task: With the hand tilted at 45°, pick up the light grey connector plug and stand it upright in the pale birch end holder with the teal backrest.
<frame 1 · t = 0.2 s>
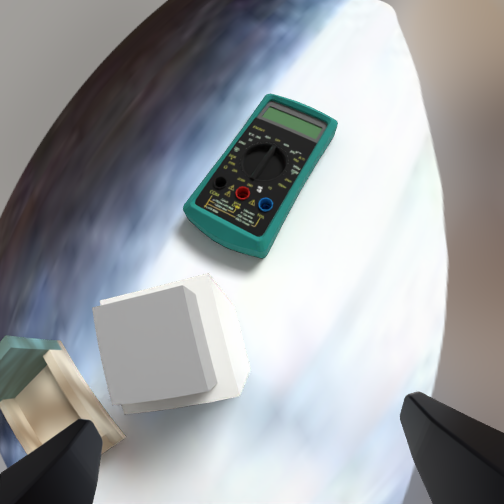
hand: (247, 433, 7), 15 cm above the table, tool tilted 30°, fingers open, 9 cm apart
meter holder: (59, 415, 20), on the table
digital multimeter: (266, 174, 26), on the table
connector plug: (209, 345, 22), on the table
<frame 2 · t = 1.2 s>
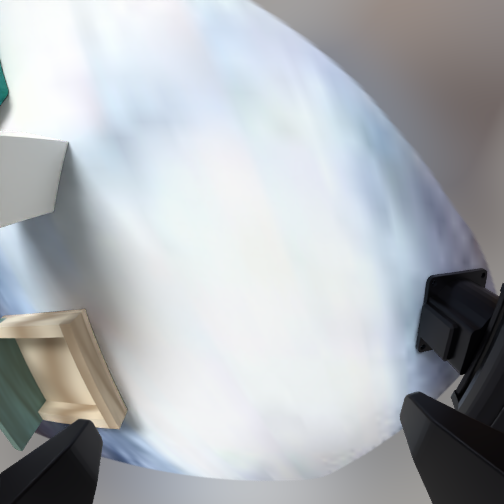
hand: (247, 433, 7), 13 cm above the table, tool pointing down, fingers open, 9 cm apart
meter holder: (60, 364, 21), on the table
connector plug: (35, 170, 17), on the table
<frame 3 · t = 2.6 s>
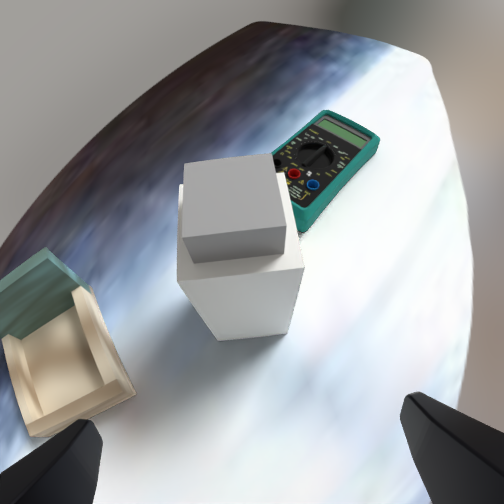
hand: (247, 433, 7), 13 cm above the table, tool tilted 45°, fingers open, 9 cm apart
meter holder: (66, 363, 21), on the table
digital multimeter: (314, 172, 30), on the table
connector plug: (249, 305, 23), on the table
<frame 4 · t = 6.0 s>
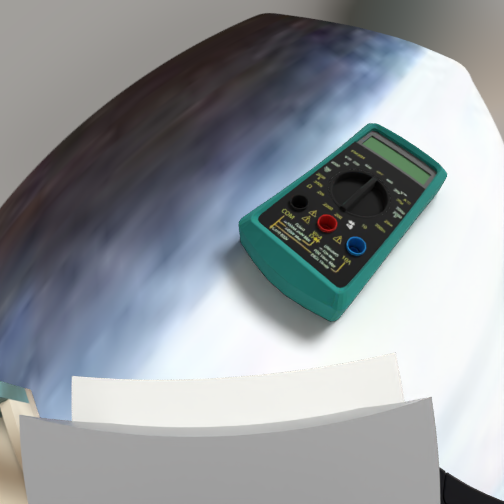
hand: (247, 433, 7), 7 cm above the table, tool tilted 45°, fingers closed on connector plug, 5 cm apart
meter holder: (13, 480, 10), on the table
digital multimeter: (354, 215, 20), on the table
connector plug: (256, 450, 12), on the table, touching gripper
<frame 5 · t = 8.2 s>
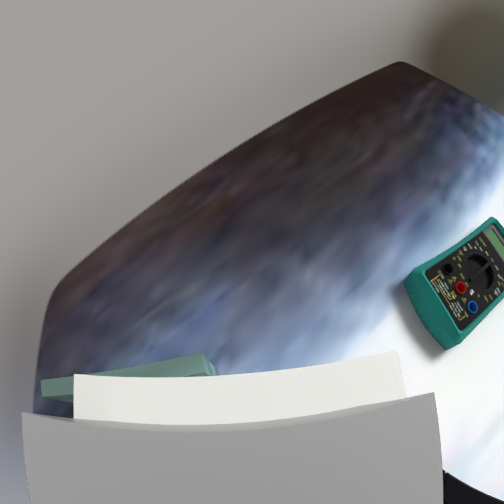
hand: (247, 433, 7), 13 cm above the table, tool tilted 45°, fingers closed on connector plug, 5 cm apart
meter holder: (169, 450, 18), on the table
digital multimeter: (467, 282, 24), on the table
connector plug: (257, 449, 12), point 7 cm above the table, touching gripper
when the fingers open (8 cm above the table, at t = 10.3 s): connector plug drops 1 cm, resting on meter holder.
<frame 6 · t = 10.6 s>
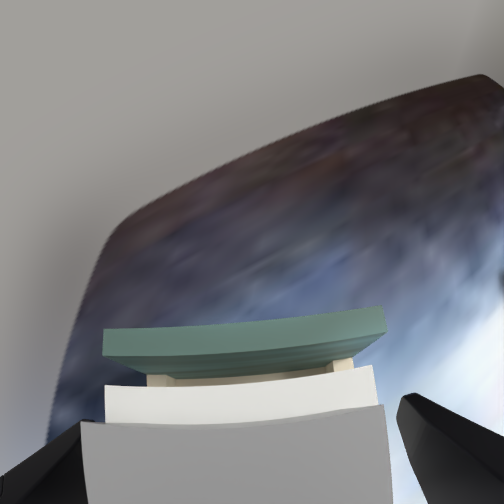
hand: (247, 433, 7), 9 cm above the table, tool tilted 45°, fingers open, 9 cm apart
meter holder: (257, 446, 14), on the table
connector plug: (257, 447, 13), point 1 cm above the table, touching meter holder
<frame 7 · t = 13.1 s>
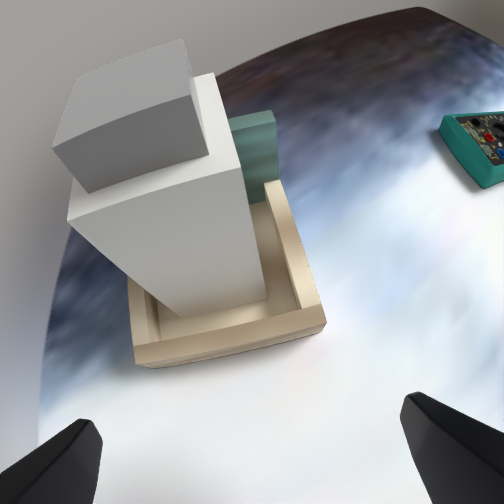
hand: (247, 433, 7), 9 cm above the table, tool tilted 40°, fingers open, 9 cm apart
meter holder: (218, 273, 19), on the table
digital multimeter: (498, 152, 22), on the table
connector plug: (216, 270, 18), point 1 cm above the table, touching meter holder
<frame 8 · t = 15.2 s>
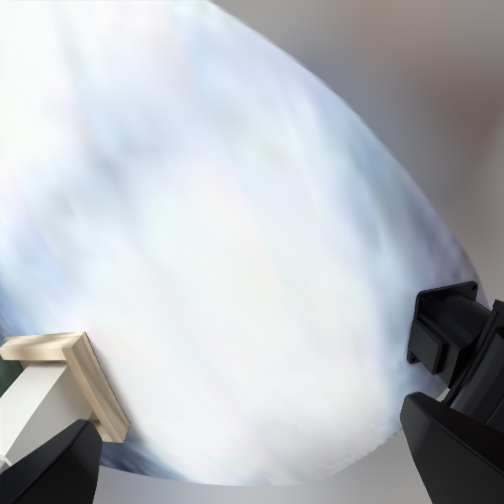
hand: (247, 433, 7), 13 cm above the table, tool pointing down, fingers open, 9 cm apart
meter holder: (63, 382, 22), on the table
connector plug: (61, 386, 21), point 1 cm above the table, touching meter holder
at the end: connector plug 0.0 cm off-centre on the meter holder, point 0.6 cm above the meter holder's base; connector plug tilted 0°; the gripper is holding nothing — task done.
